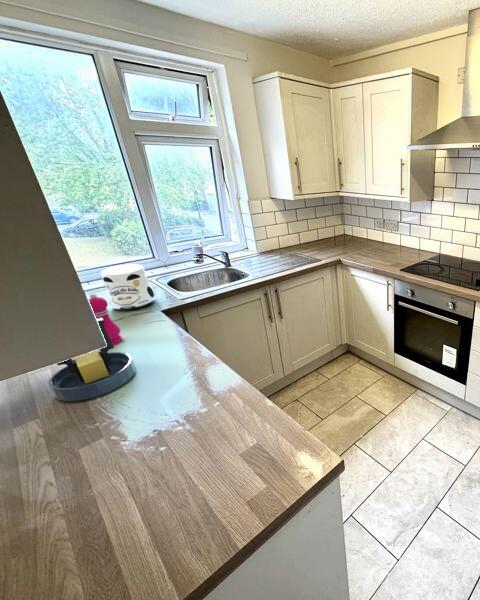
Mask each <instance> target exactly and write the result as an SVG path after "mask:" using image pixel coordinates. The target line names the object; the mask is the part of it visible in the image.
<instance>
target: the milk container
mask: <svg viewBox="0 0 480 600" xmlns="http://www.w3.org/2000/svg"><path fill="white" fill-rule="evenodd" d="M100 276H101V280H102V281H103V285H104V286H105V289H106V293H107V296H106V297H107V303H108V305H110V307H111V308H113V309H114V310H119V311H128V310H129V311H130V310H135V309H140V308H142V307H146V306H147V305H150V304H151V303H152V302H153V301H155V299H156V298H155V297H156V293H155V291H154V288H153V287H152V285H151V284H150V283H149V280H148V276H147V274H146V270H145V268H144V267H143V265H142V264H122V265H117V266H113V267H109V268H106V269H103V270H102V271H101V272H100Z"/></svg>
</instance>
